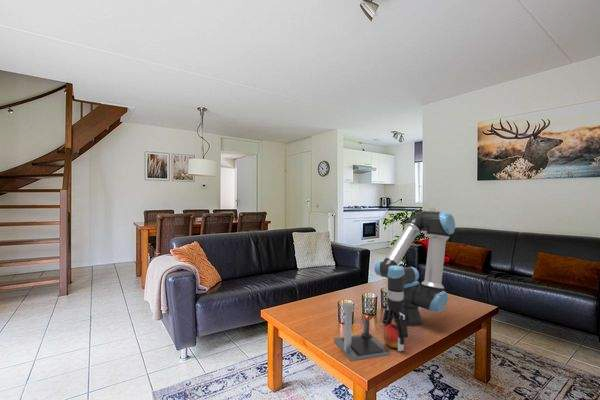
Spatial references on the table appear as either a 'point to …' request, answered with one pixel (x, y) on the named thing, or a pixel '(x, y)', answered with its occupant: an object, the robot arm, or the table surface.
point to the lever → (366, 327)
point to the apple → (391, 335)
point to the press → (358, 341)
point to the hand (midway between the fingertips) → (394, 345)
